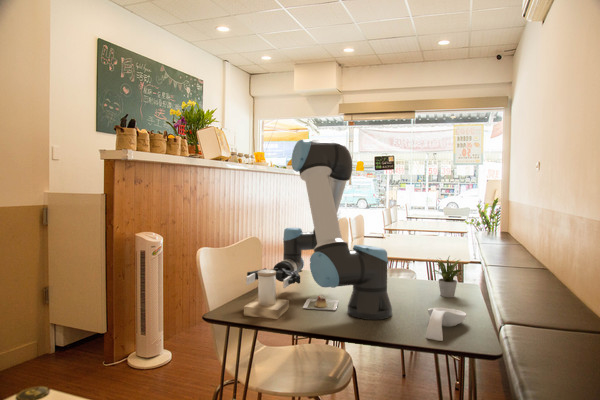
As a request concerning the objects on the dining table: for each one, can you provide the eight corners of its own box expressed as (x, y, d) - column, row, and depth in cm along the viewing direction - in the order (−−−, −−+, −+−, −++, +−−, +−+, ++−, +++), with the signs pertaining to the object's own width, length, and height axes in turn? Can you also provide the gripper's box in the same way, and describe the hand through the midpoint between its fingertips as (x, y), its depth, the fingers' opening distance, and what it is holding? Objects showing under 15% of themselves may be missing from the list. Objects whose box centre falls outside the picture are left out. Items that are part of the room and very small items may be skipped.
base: (288, 308, 144) (289, 300, 144) (277, 319, 133) (277, 310, 133) (257, 305, 148) (257, 297, 147) (243, 315, 136) (243, 306, 136)
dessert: (307, 301, 156) (307, 288, 155) (338, 303, 153) (338, 290, 153) (302, 310, 144) (302, 297, 144) (336, 312, 142) (336, 299, 141)
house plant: (426, 299, 158) (427, 257, 158) (424, 290, 172) (425, 252, 171) (465, 301, 155) (466, 259, 154) (460, 292, 168) (461, 253, 168)
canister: (278, 301, 142) (278, 270, 142) (272, 306, 136) (272, 274, 136) (261, 299, 144) (261, 269, 144) (254, 305, 138) (254, 273, 137)
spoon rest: (431, 315, 139) (432, 294, 139) (468, 321, 133) (469, 299, 133) (414, 337, 118) (414, 313, 118) (456, 345, 112) (457, 320, 112)
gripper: (315, 282, 155) (300, 296, 135) (255, 277, 162) (232, 290, 142) (315, 262, 155) (300, 274, 135) (255, 258, 162) (232, 269, 142)
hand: (265, 282), depth 138 cm, fingers open, 13 cm apart
